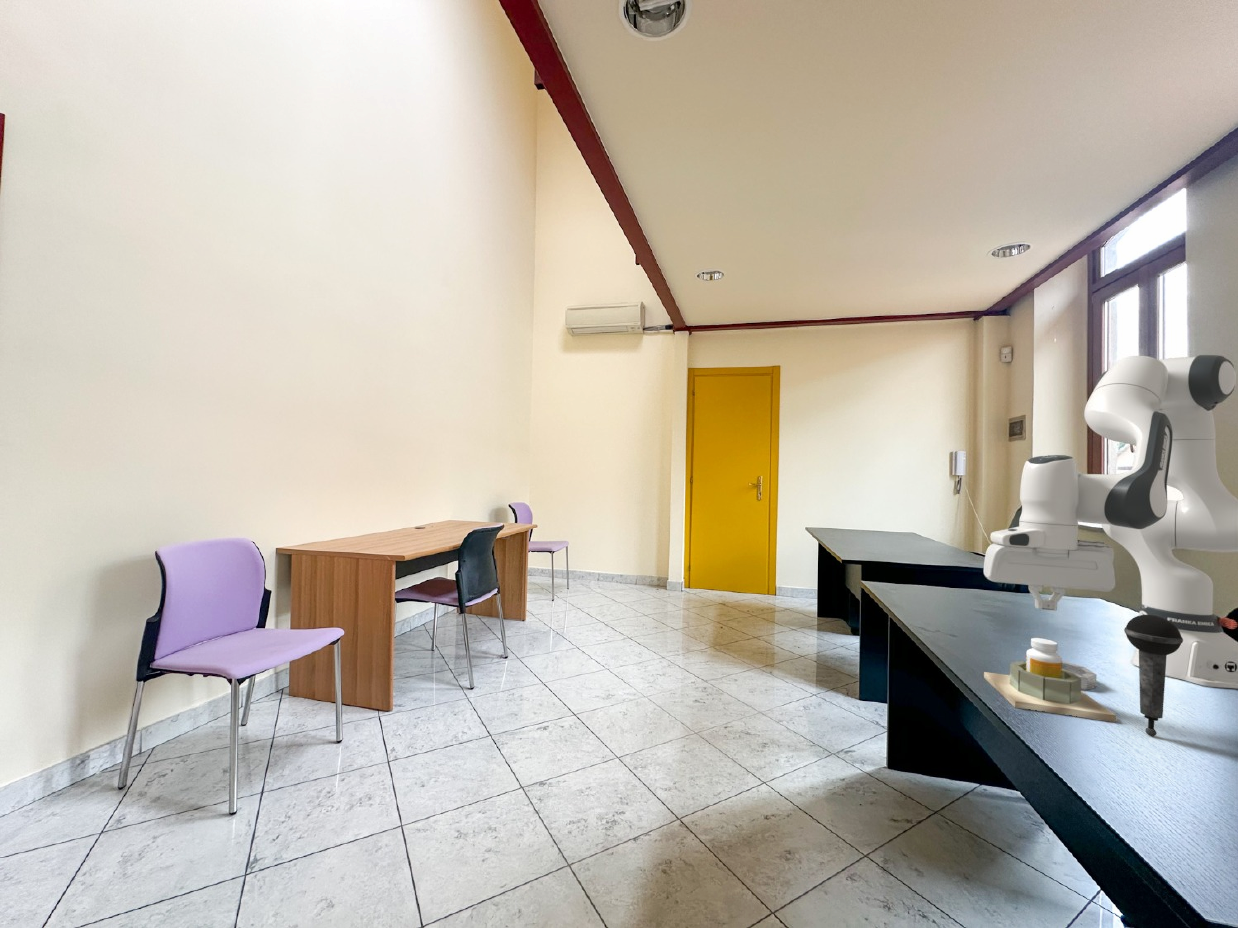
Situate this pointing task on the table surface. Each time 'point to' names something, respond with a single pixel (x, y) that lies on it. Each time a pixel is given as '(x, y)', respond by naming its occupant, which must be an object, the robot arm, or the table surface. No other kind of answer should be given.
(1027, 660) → the supplement bottle
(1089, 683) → the holder ring
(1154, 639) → the microphone
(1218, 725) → the table surface
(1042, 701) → the socket board
